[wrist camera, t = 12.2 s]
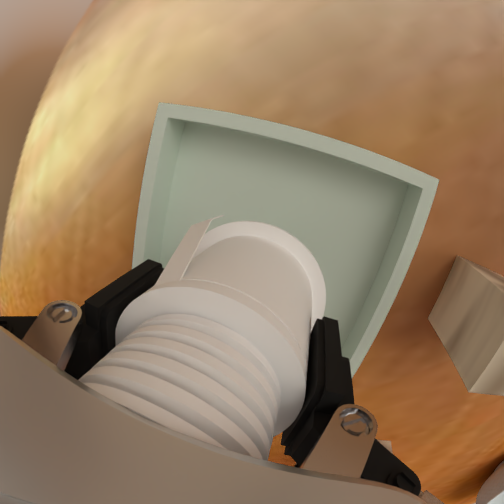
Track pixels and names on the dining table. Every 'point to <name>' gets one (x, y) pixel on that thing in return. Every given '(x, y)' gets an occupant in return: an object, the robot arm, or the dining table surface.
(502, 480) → the cereal bowl
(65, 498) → the robot arm
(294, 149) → the tray
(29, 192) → the dining table surface
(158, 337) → the downlight
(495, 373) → the maple block
